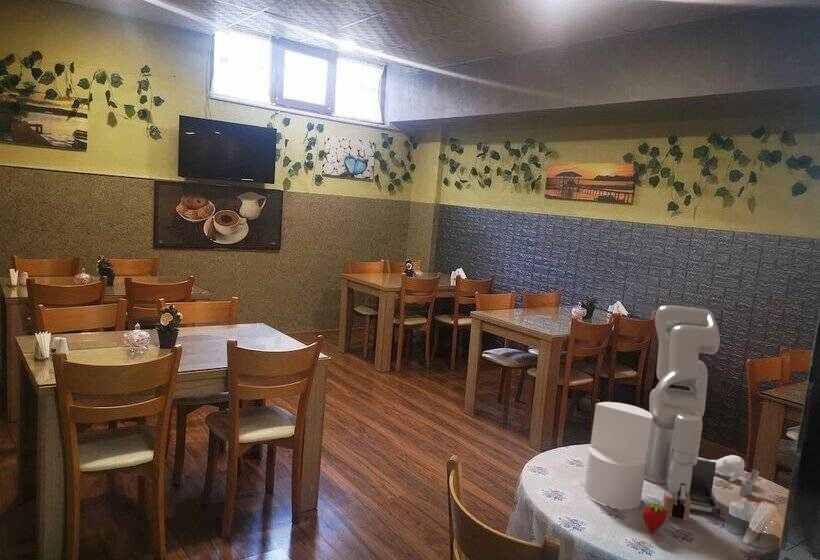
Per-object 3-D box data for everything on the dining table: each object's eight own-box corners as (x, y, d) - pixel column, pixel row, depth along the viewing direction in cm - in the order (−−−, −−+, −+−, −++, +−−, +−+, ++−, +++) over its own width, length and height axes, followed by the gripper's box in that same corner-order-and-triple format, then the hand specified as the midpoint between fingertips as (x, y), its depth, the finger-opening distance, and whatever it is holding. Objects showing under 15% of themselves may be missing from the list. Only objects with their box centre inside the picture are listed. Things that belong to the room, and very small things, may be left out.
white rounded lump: (741, 460, 210) (704, 452, 218) (740, 484, 210) (703, 475, 218) (746, 456, 214) (710, 447, 223) (745, 479, 215) (709, 470, 223)
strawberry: (669, 534, 172) (674, 501, 171) (652, 540, 168) (657, 506, 167) (651, 524, 177) (656, 492, 176) (634, 529, 173) (639, 496, 172)
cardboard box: (663, 515, 183) (665, 497, 183) (661, 510, 187) (664, 492, 186) (688, 520, 181) (691, 501, 181) (686, 515, 185) (688, 496, 184)
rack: (680, 509, 188) (686, 472, 187) (673, 490, 202) (679, 455, 200) (719, 517, 185) (725, 479, 184) (709, 497, 199) (715, 462, 197)
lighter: (744, 496, 201) (748, 473, 201) (739, 494, 203) (743, 471, 202) (756, 493, 205) (760, 470, 204) (751, 490, 207) (754, 468, 206)
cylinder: (593, 478, 205) (604, 398, 202) (646, 496, 196) (658, 412, 192) (575, 495, 191) (586, 409, 188) (631, 515, 181) (644, 425, 178)
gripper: (666, 443, 191) (658, 496, 193) (674, 464, 174) (666, 522, 176) (691, 447, 189) (683, 501, 191) (703, 469, 172) (693, 528, 175)
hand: (675, 511), depth 184 cm, fingers open, 7 cm apart
